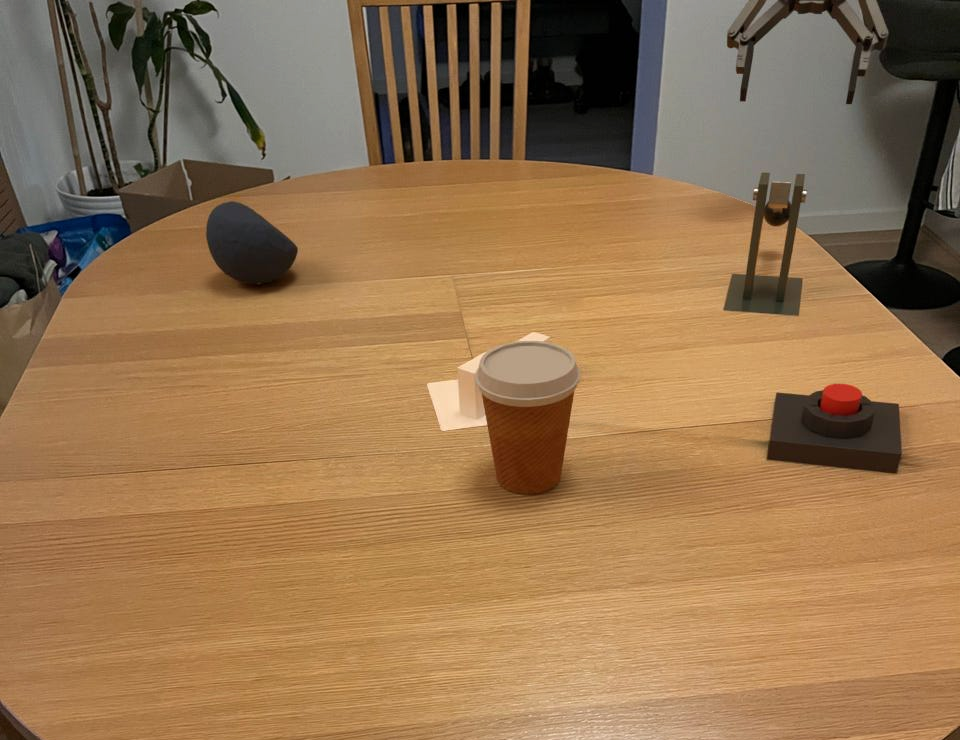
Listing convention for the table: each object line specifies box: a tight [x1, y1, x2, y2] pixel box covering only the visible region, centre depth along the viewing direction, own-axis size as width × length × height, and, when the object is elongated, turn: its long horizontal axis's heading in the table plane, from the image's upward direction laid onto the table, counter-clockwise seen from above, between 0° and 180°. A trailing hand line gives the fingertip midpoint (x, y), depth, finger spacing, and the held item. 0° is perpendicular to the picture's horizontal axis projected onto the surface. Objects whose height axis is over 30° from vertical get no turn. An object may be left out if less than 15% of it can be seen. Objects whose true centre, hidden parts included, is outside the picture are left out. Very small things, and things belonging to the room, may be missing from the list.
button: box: [820, 383, 863, 416], centre depth 93 cm, size 4×4×2 cm
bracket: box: [722, 172, 808, 317], centre depth 117 cm, size 12×9×15 cm
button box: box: [766, 389, 903, 474], centre depth 95 cm, size 12×10×4 cm
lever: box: [763, 181, 792, 227], centre depth 120 cm, size 17×4×4 cm, turn 164°
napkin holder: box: [426, 331, 551, 432], centre depth 104 cm, size 15×11×6 cm
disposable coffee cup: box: [475, 340, 581, 495], centre depth 90 cm, size 10×10×12 cm
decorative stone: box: [205, 200, 299, 285], centre depth 131 cm, size 12×12×10 cm
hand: (795, 97), depth 126 cm, fingers open, 13 cm apart
